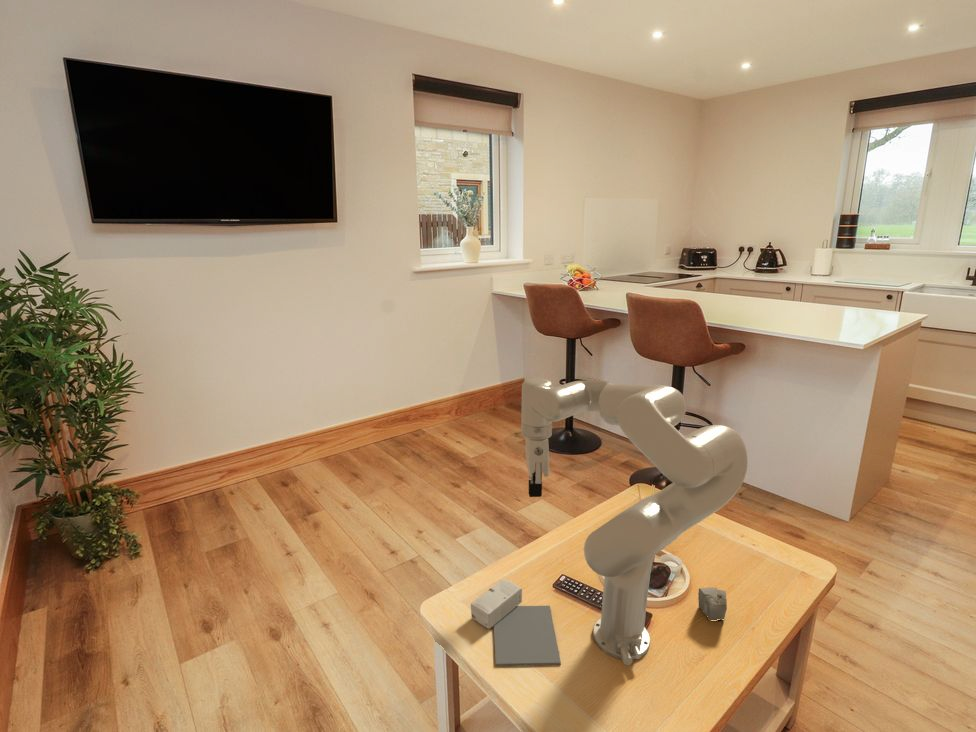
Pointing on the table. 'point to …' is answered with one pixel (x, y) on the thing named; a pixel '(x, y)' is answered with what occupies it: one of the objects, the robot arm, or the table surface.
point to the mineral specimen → (713, 602)
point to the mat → (526, 638)
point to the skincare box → (496, 603)
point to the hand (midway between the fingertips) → (535, 495)
